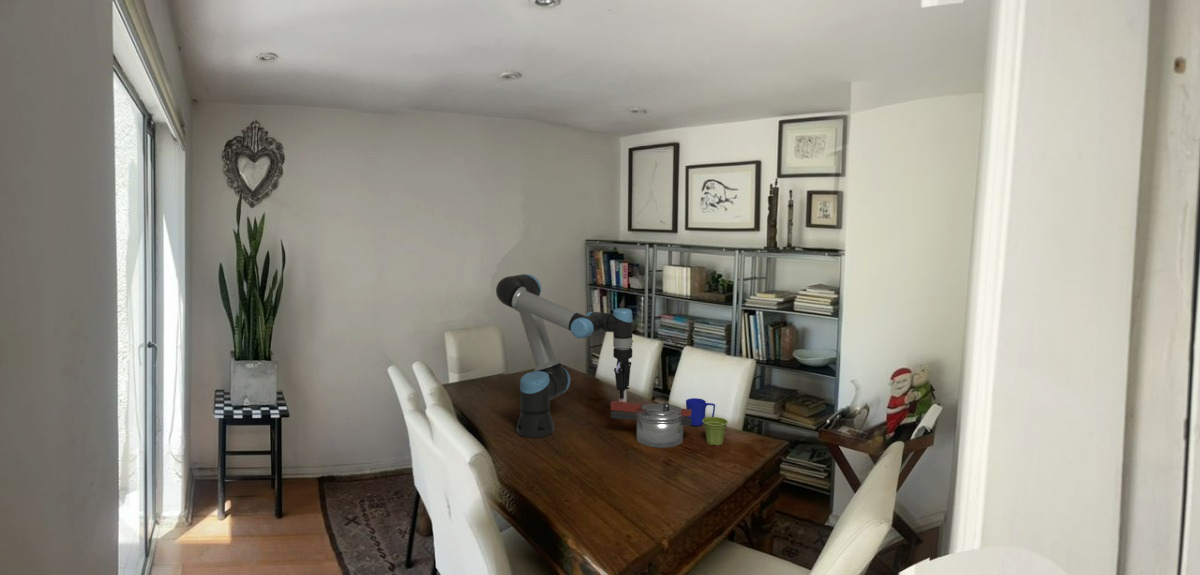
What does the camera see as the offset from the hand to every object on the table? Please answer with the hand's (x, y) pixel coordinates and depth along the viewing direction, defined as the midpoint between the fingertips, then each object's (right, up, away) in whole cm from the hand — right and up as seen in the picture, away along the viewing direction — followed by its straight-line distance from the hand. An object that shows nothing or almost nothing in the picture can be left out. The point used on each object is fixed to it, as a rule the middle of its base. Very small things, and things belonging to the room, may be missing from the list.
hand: (622, 405), depth 230 cm
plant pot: (+35, -13, -10) cm, 38 cm away
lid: (+11, -2, -5) cm, 12 cm away
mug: (+33, -10, +11) cm, 36 cm away
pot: (+11, -12, -4) cm, 16 cm away
